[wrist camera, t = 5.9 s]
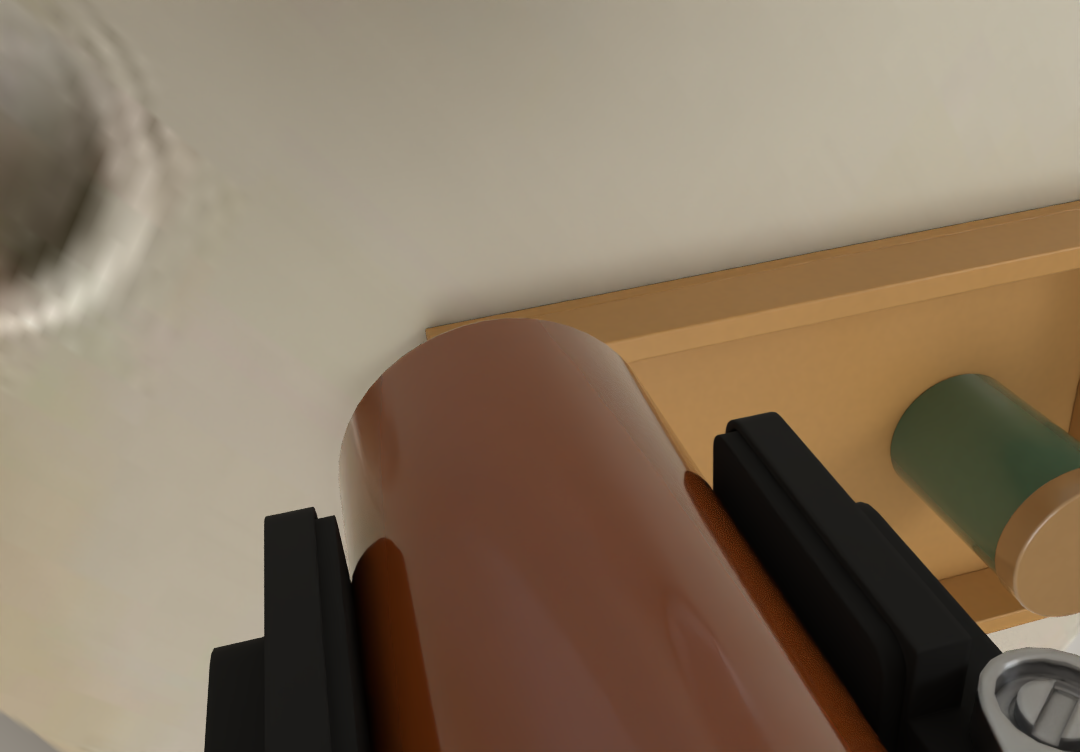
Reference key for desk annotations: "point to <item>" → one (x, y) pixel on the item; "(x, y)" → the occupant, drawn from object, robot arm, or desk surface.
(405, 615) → the spice bottle
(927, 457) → the jar
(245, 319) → the desk surface
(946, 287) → the tray
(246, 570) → the desk surface
